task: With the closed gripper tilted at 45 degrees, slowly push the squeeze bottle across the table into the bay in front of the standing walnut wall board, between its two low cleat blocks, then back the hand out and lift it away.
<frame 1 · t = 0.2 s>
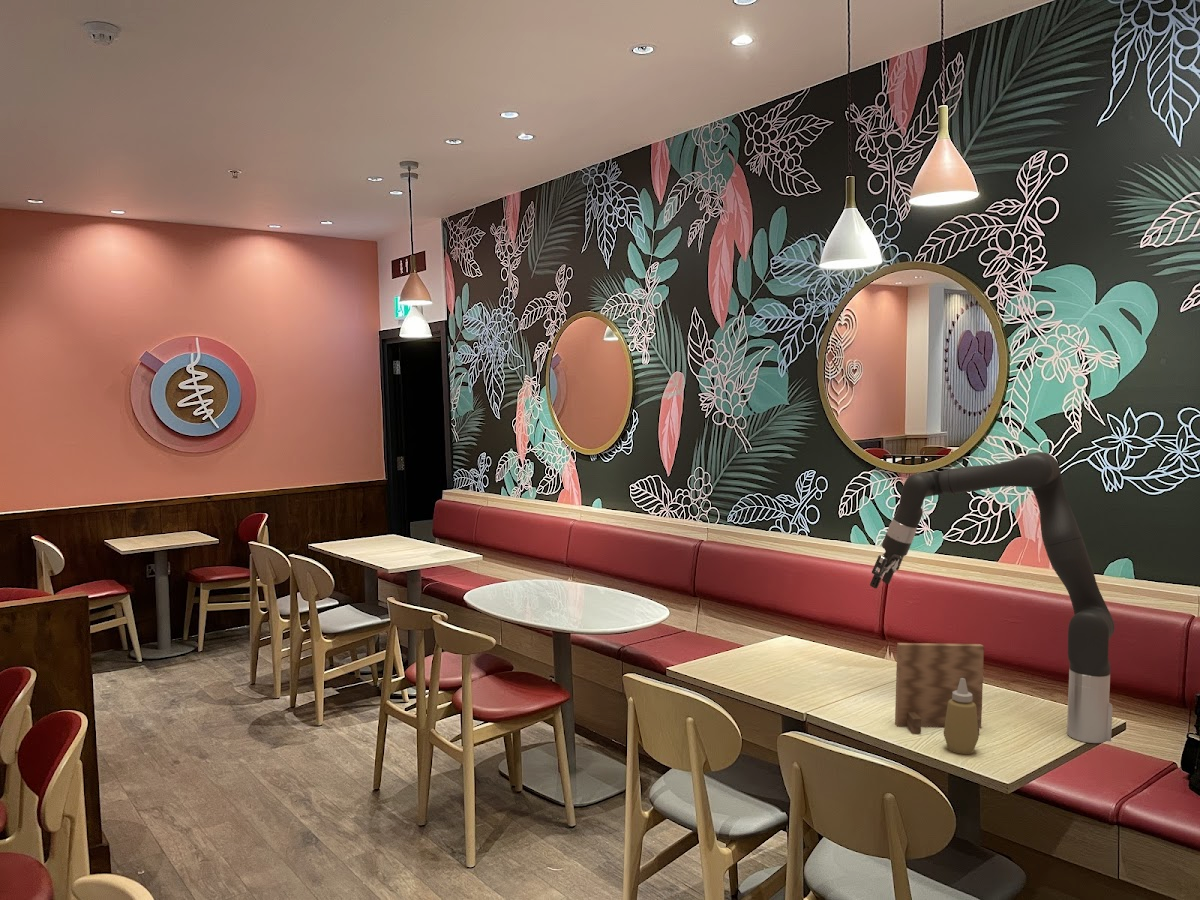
hand: (879, 584, 265), 31 cm above the table, tool tilted 20°, fingers open, 8 cm apart
walnut wall board: (937, 726, 236), on the table
squeeze bottle: (960, 750, 220), on the table
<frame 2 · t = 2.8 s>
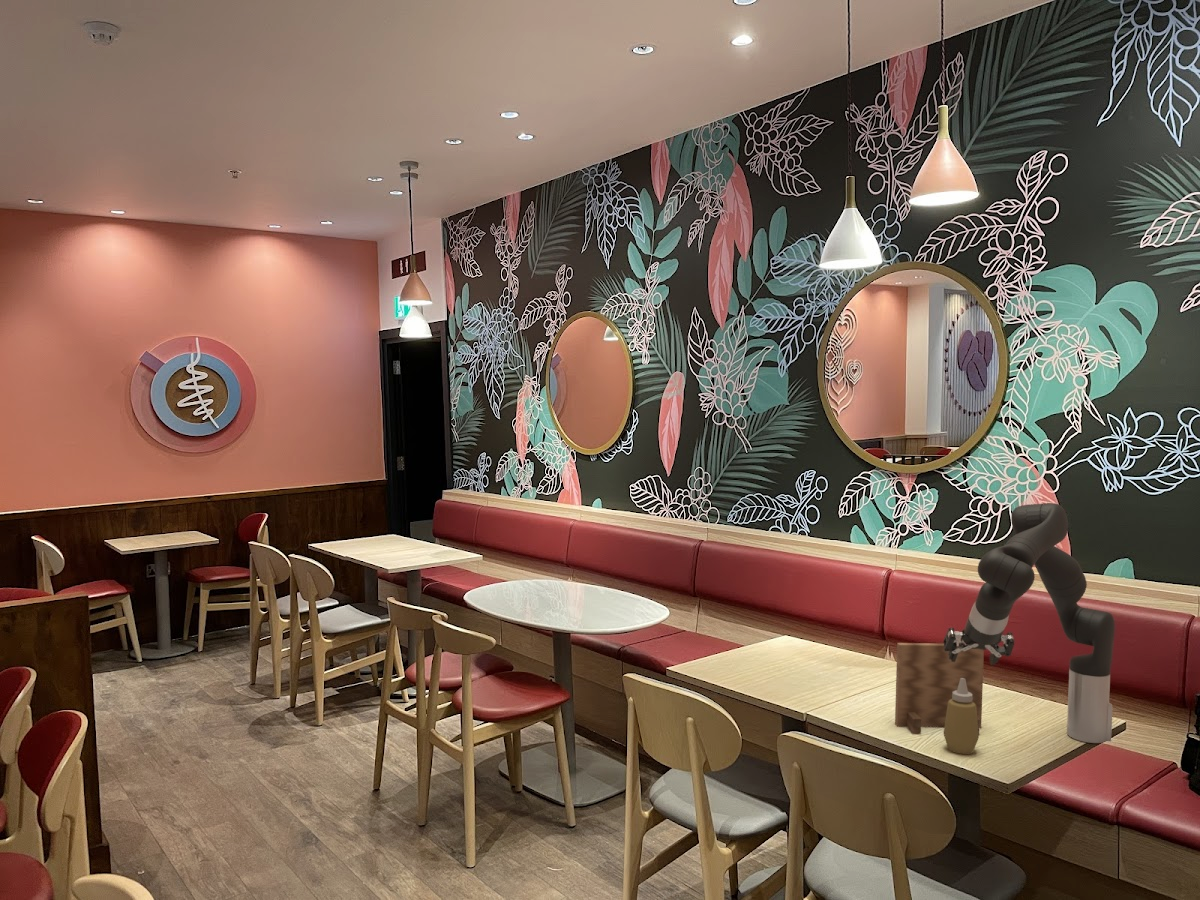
hand: (971, 660, 206), 27 cm above the table, tool tilted 40°, fingers open, 8 cm apart
nothing on the table moved.
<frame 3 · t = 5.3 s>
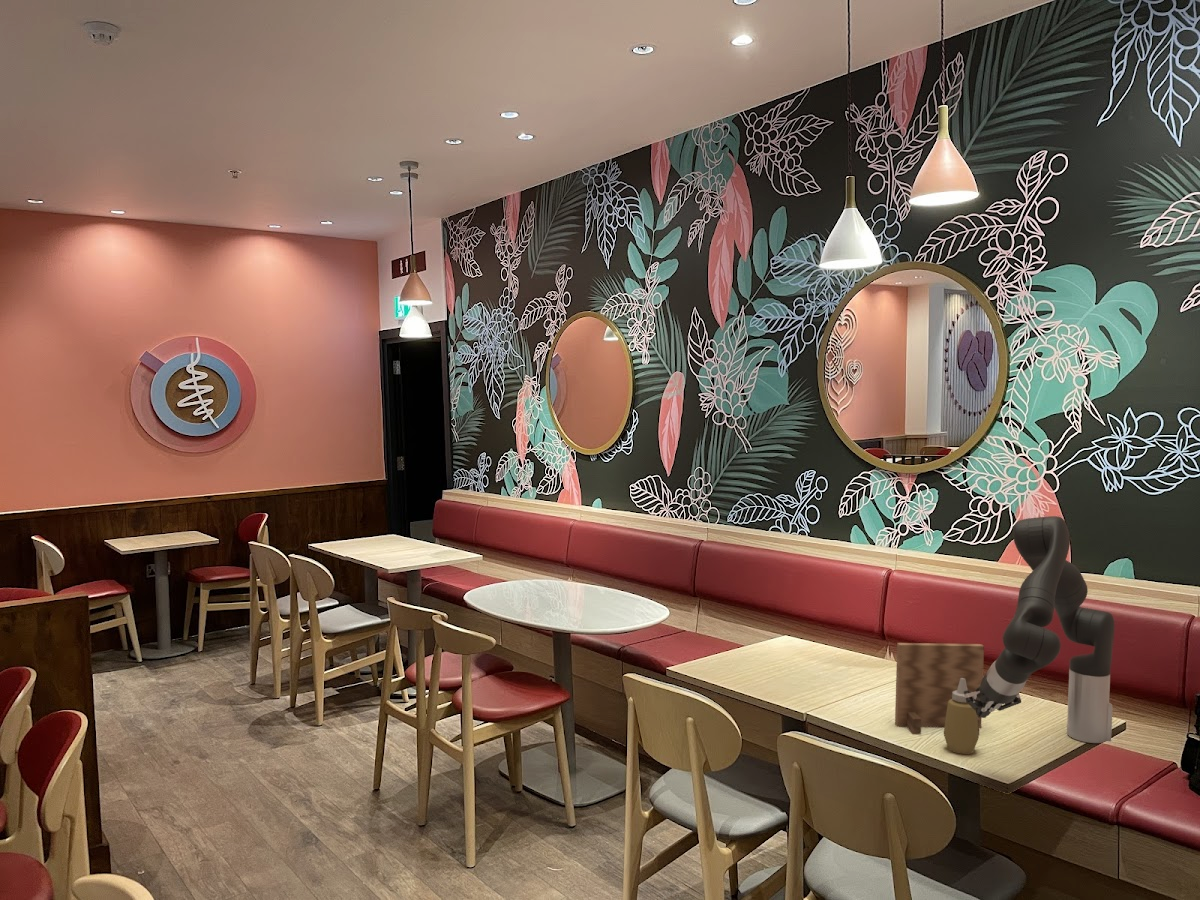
hand: (980, 714, 208), 13 cm above the table, tool tilted 45°, fingers closed
nothing on the table moved.
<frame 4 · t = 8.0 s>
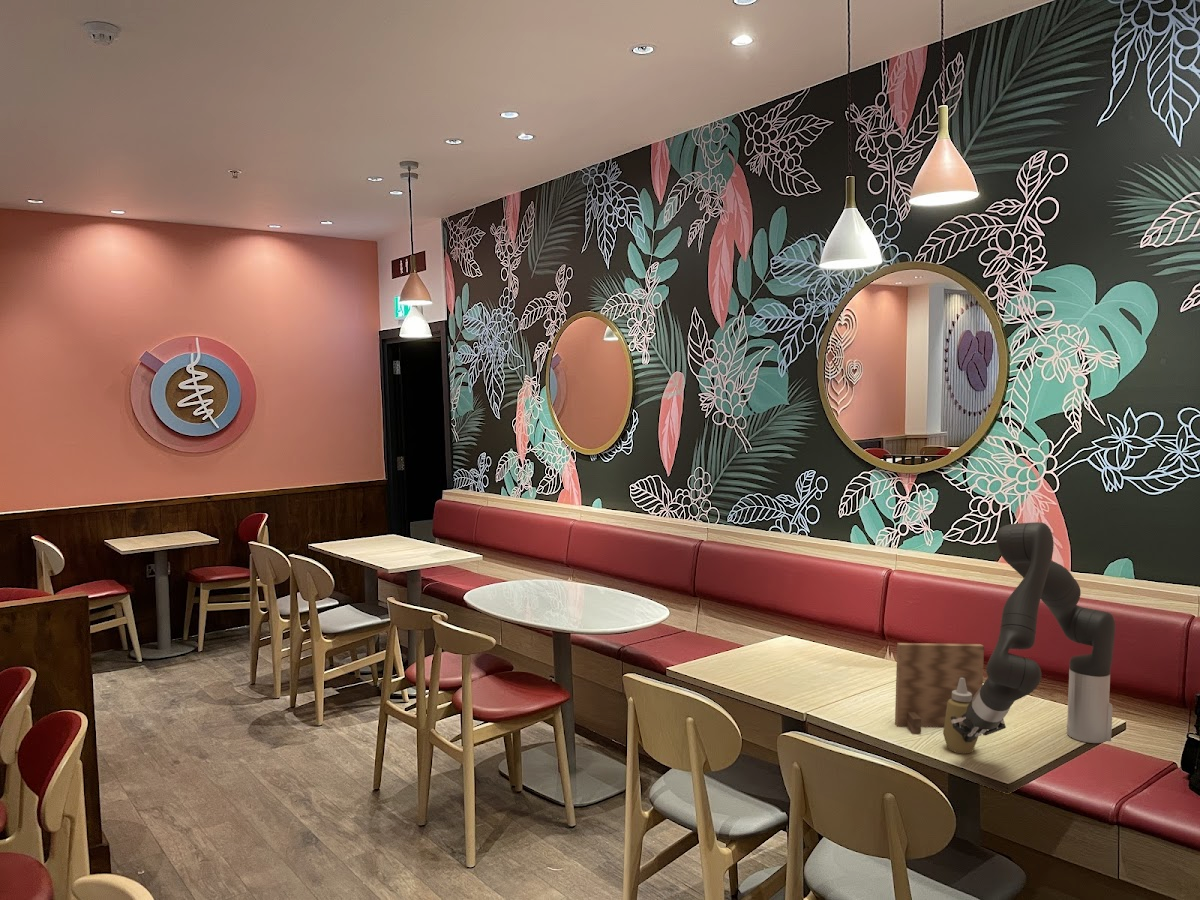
hand: (966, 738, 217), 4 cm above the table, tool tilted 45°, fingers closed
squeeze bottle: (960, 750, 221), on the table, touching gripper
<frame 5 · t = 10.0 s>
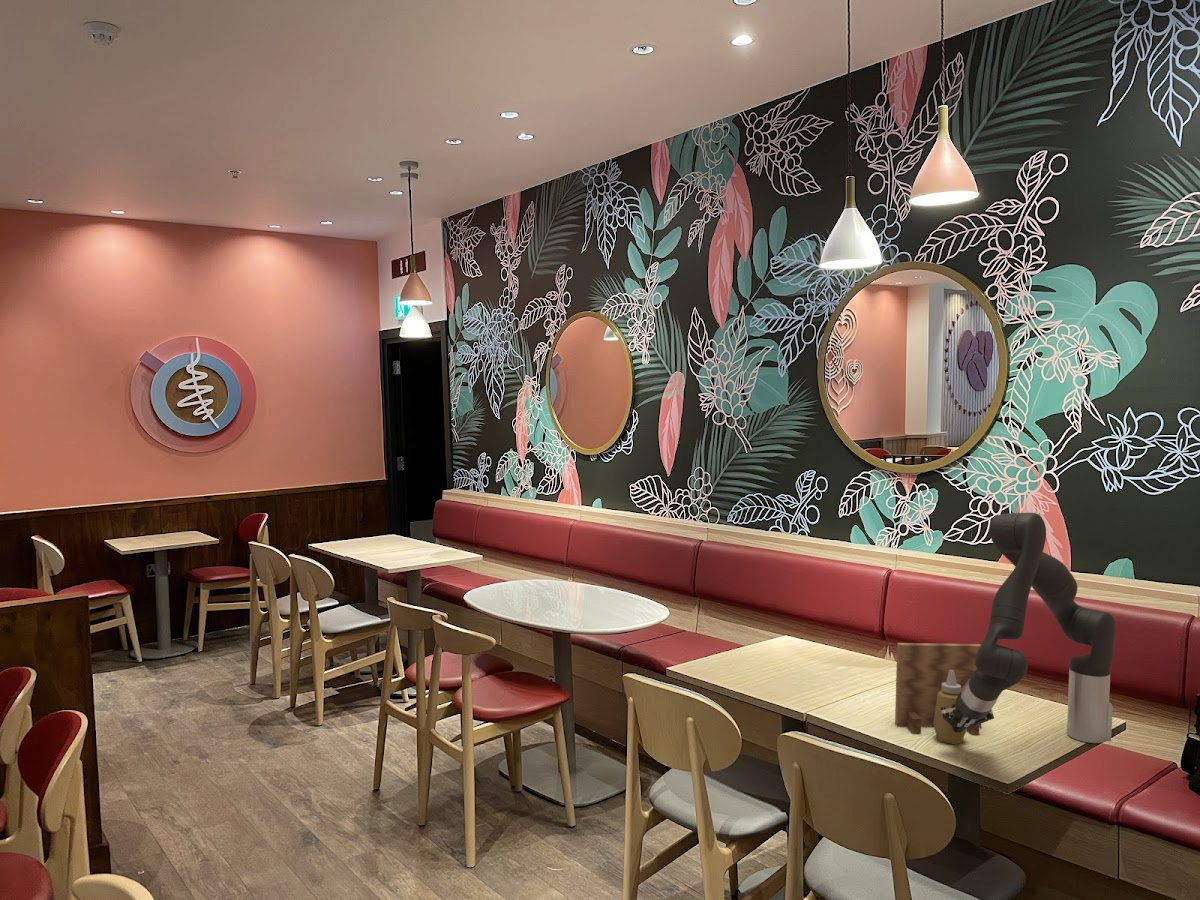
hand: (956, 728, 223), 4 cm above the table, tool tilted 45°, fingers closed
squeeze bottle: (949, 740, 227), on the table, touching gripper
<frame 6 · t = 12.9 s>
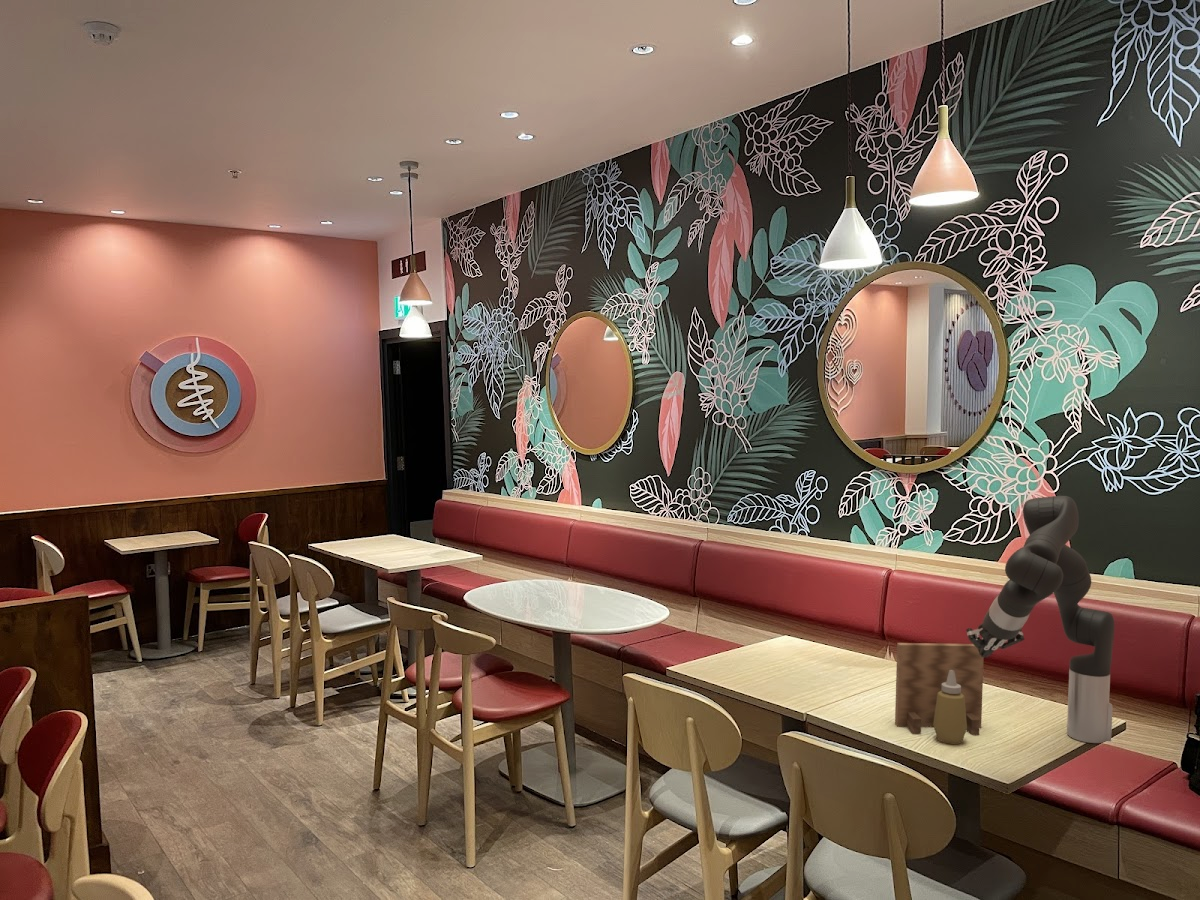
hand: (983, 653, 207), 28 cm above the table, tool tilted 45°, fingers closed
squeeze bottle: (949, 741, 227), on the table
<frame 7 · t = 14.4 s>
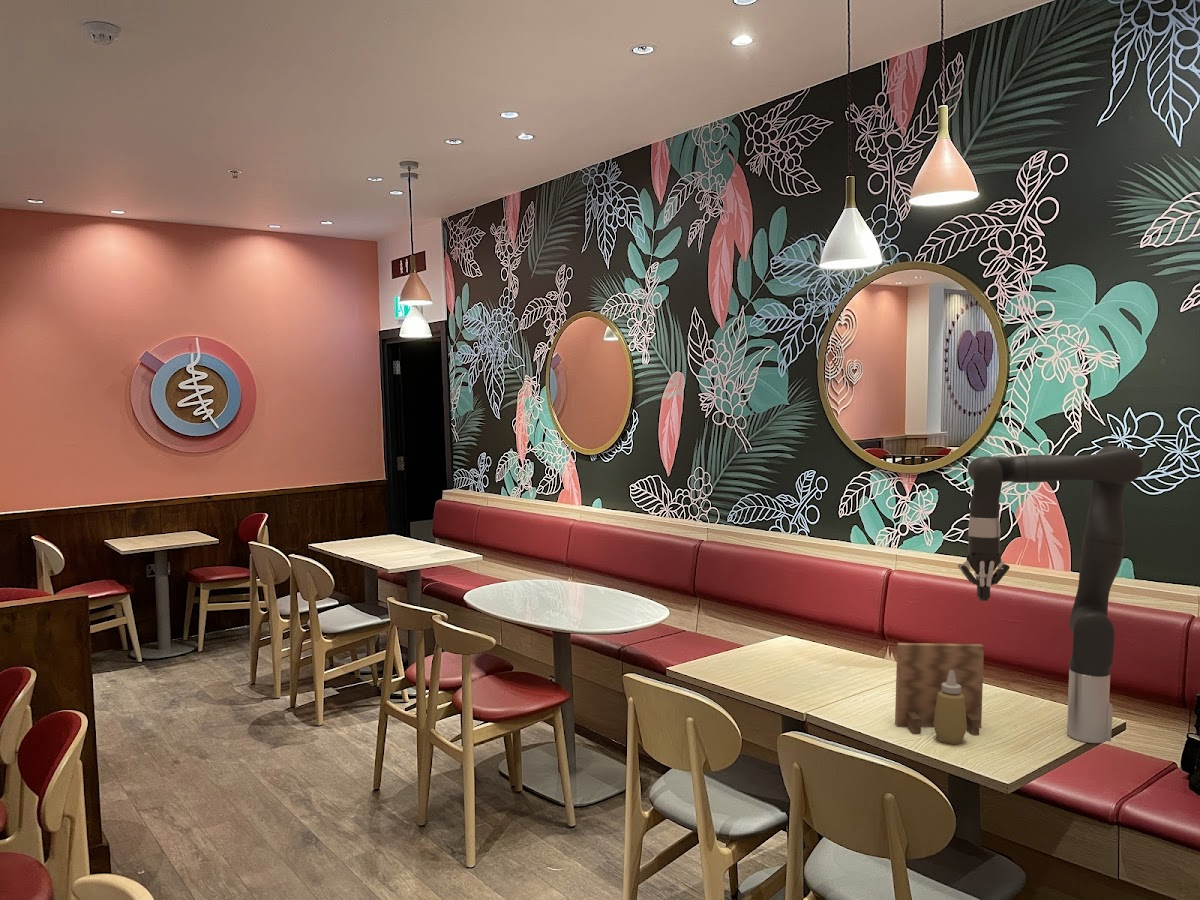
hand: (983, 600, 232), 35 cm above the table, tool pointing down, fingers closed
nothing on the table moved.
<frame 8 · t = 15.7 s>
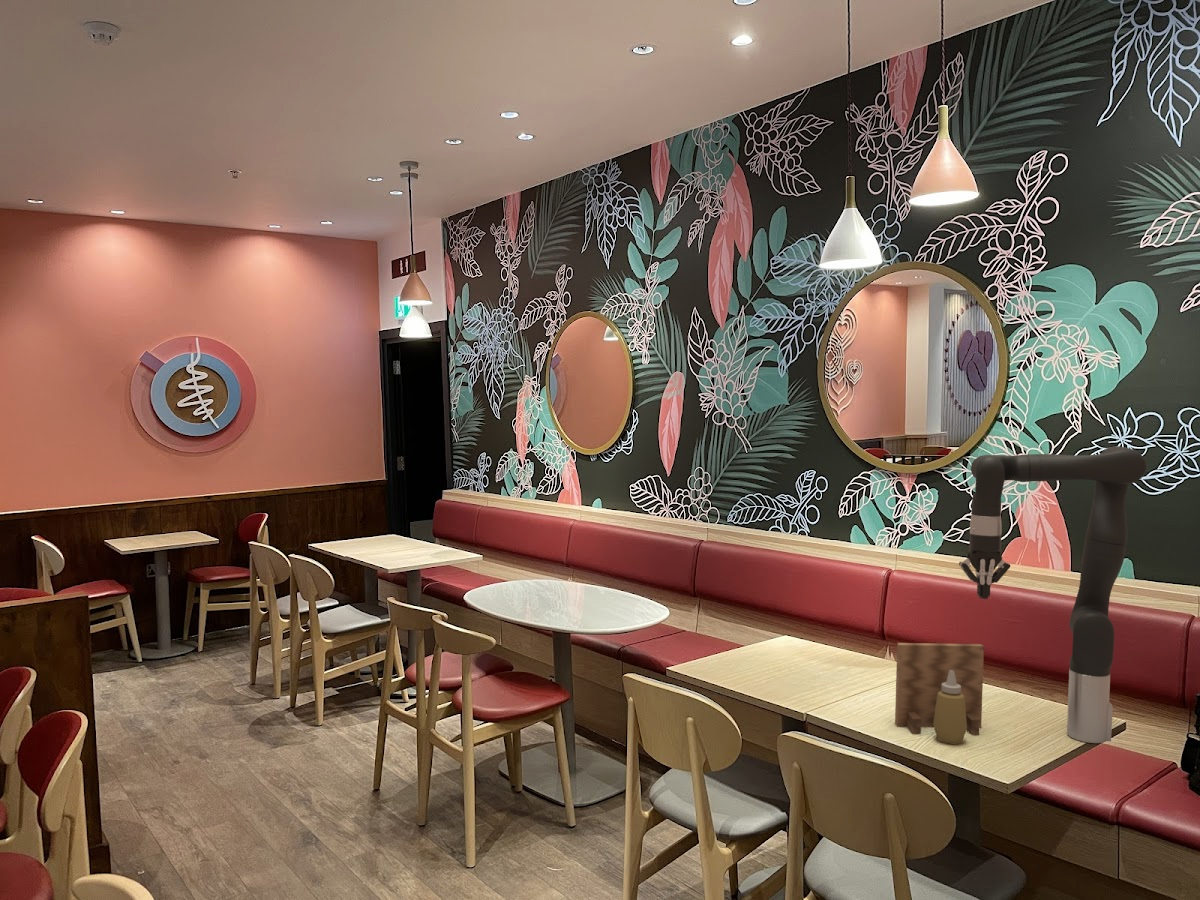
hand: (983, 598, 232), 35 cm above the table, tool pointing down, fingers closed
nothing on the table moved.
at the end: squeeze bottle inside the target area (1.0 cm from its centre), on the table; squeeze bottle tilted 0°; squeeze bottle moved 6.3 cm from its start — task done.
